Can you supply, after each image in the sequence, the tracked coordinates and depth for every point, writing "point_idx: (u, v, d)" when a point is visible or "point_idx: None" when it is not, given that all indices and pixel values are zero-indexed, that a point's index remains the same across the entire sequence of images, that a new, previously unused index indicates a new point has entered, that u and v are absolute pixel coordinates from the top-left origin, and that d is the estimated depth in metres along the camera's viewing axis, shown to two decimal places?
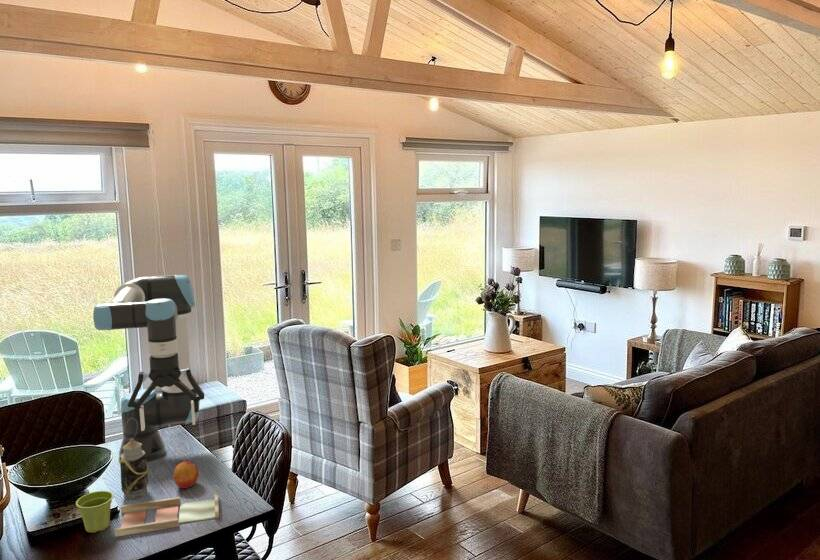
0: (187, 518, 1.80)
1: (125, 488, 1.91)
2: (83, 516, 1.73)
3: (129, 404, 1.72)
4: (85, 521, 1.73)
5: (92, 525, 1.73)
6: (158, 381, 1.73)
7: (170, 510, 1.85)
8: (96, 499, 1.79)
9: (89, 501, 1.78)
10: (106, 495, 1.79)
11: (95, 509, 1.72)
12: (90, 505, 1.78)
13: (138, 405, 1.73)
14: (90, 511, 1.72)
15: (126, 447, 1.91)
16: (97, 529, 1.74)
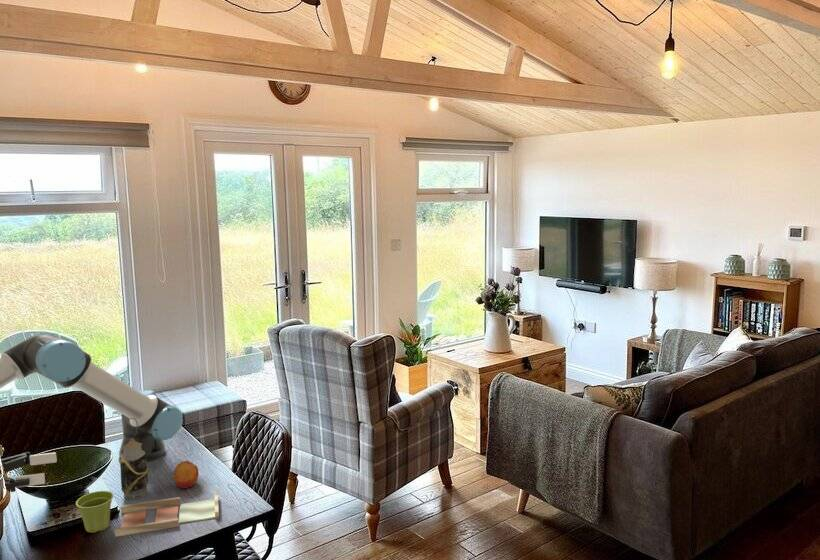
0: (187, 518, 1.80)
1: (125, 488, 1.91)
2: (83, 516, 1.73)
3: None
4: (85, 521, 1.73)
5: (92, 525, 1.73)
6: None
7: (170, 510, 1.85)
8: (96, 499, 1.79)
9: (89, 501, 1.78)
10: (106, 495, 1.79)
11: (95, 509, 1.72)
12: (90, 505, 1.78)
13: None
14: (90, 511, 1.72)
15: (126, 447, 1.91)
16: (97, 529, 1.74)
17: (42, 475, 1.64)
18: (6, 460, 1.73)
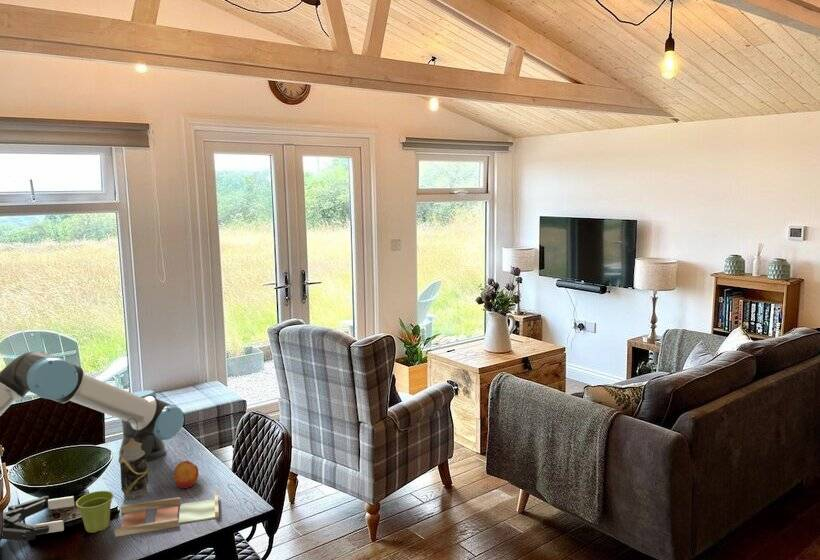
0: (187, 518, 1.80)
1: (125, 488, 1.91)
2: (83, 516, 1.73)
3: None
4: (85, 521, 1.73)
5: (92, 525, 1.73)
6: None
7: (170, 510, 1.85)
8: (96, 499, 1.79)
9: (89, 501, 1.78)
10: (106, 495, 1.79)
11: (95, 509, 1.72)
12: (90, 505, 1.78)
13: None
14: (90, 511, 1.72)
15: (126, 447, 1.91)
16: (97, 529, 1.74)
17: (61, 522, 1.66)
18: (25, 505, 1.76)
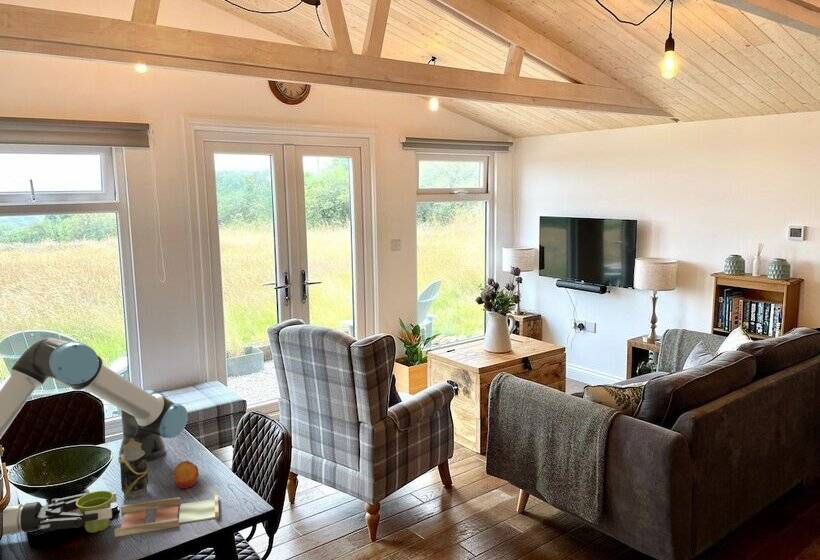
0: (187, 518, 1.80)
1: (125, 488, 1.91)
2: None
3: None
4: None
5: (92, 525, 1.73)
6: None
7: (170, 510, 1.85)
8: (96, 499, 1.79)
9: (89, 501, 1.78)
10: (106, 495, 1.79)
11: (95, 509, 1.72)
12: (90, 505, 1.78)
13: None
14: None
15: (126, 447, 1.91)
16: (97, 529, 1.74)
17: (109, 510, 1.72)
18: (67, 499, 1.79)
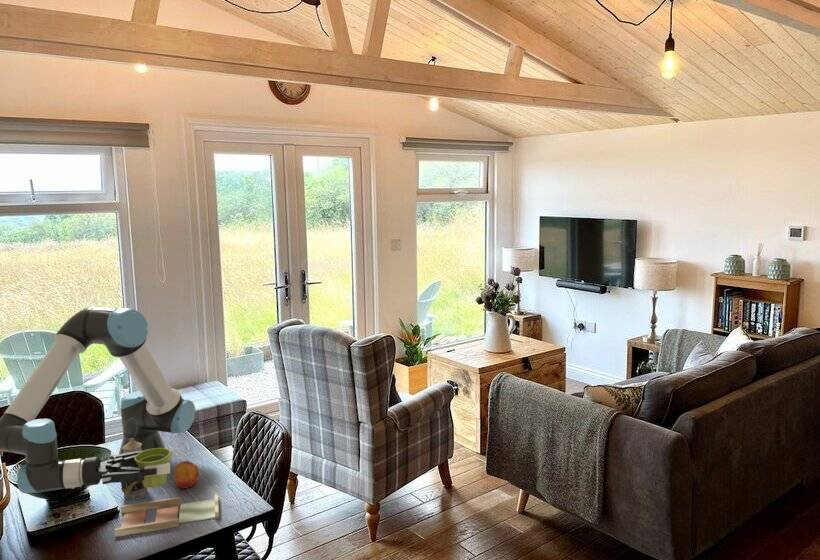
0: (187, 518, 1.80)
1: (125, 488, 1.91)
2: None
3: None
4: None
5: (151, 481, 1.74)
6: None
7: (170, 510, 1.85)
8: (153, 456, 1.80)
9: (146, 458, 1.79)
10: (162, 452, 1.80)
11: (153, 464, 1.73)
12: (147, 461, 1.79)
13: None
14: None
15: (126, 447, 1.91)
16: (155, 484, 1.75)
17: (168, 465, 1.73)
18: (125, 456, 1.80)
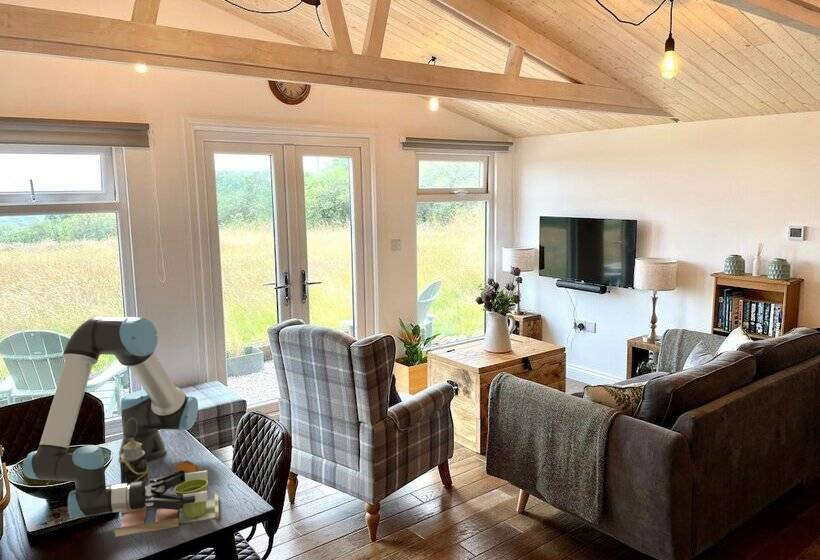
0: (187, 518, 1.80)
1: None
2: None
3: None
4: (184, 507, 1.79)
5: (191, 510, 1.79)
6: None
7: (170, 510, 1.85)
8: (192, 488, 1.85)
9: (185, 489, 1.84)
10: (200, 482, 1.85)
11: None
12: None
13: None
14: None
15: (126, 447, 1.91)
16: (195, 514, 1.79)
17: (206, 493, 1.78)
18: (164, 478, 1.87)
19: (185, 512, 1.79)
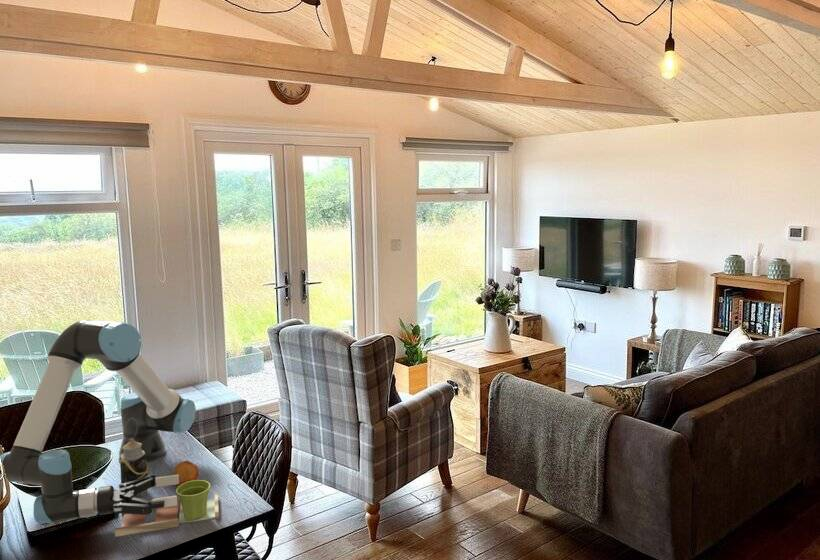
0: None
1: None
2: (183, 504, 1.78)
3: None
4: (185, 509, 1.79)
5: (191, 513, 1.78)
6: None
7: (170, 510, 1.85)
8: (193, 488, 1.85)
9: (187, 490, 1.84)
10: (202, 484, 1.85)
11: (194, 498, 1.77)
12: (188, 493, 1.84)
13: None
14: (190, 499, 1.77)
15: (126, 447, 1.91)
16: (196, 517, 1.79)
17: (175, 497, 1.75)
18: (134, 482, 1.84)
19: (185, 514, 1.79)
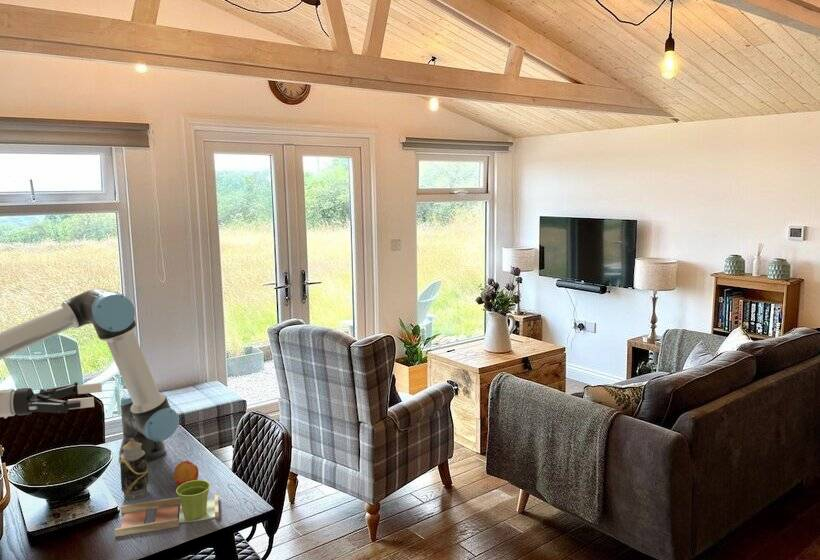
0: None
1: (125, 488, 1.91)
2: (183, 504, 1.78)
3: None
4: (185, 509, 1.79)
5: (191, 513, 1.78)
6: None
7: (170, 510, 1.85)
8: (193, 488, 1.85)
9: (187, 490, 1.84)
10: (202, 484, 1.85)
11: (194, 498, 1.77)
12: (188, 493, 1.84)
13: None
14: (190, 499, 1.77)
15: (126, 447, 1.91)
16: (196, 517, 1.79)
17: (92, 399, 1.77)
18: (56, 388, 1.86)
19: (185, 514, 1.79)
